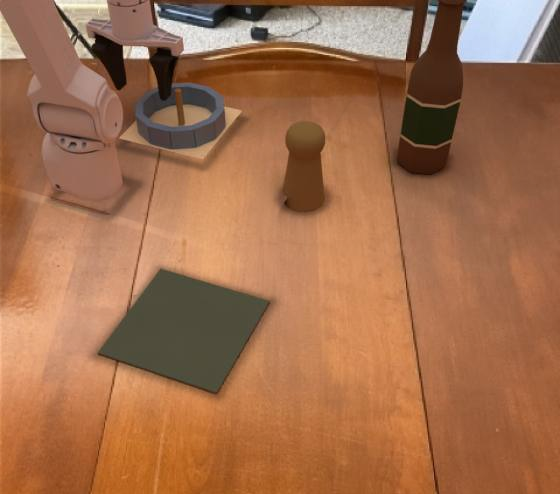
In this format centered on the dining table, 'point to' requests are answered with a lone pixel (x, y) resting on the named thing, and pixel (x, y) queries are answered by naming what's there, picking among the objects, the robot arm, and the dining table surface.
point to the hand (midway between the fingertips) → (143, 92)
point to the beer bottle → (433, 95)
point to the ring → (181, 134)
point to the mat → (186, 330)
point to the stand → (181, 124)
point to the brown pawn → (304, 167)
